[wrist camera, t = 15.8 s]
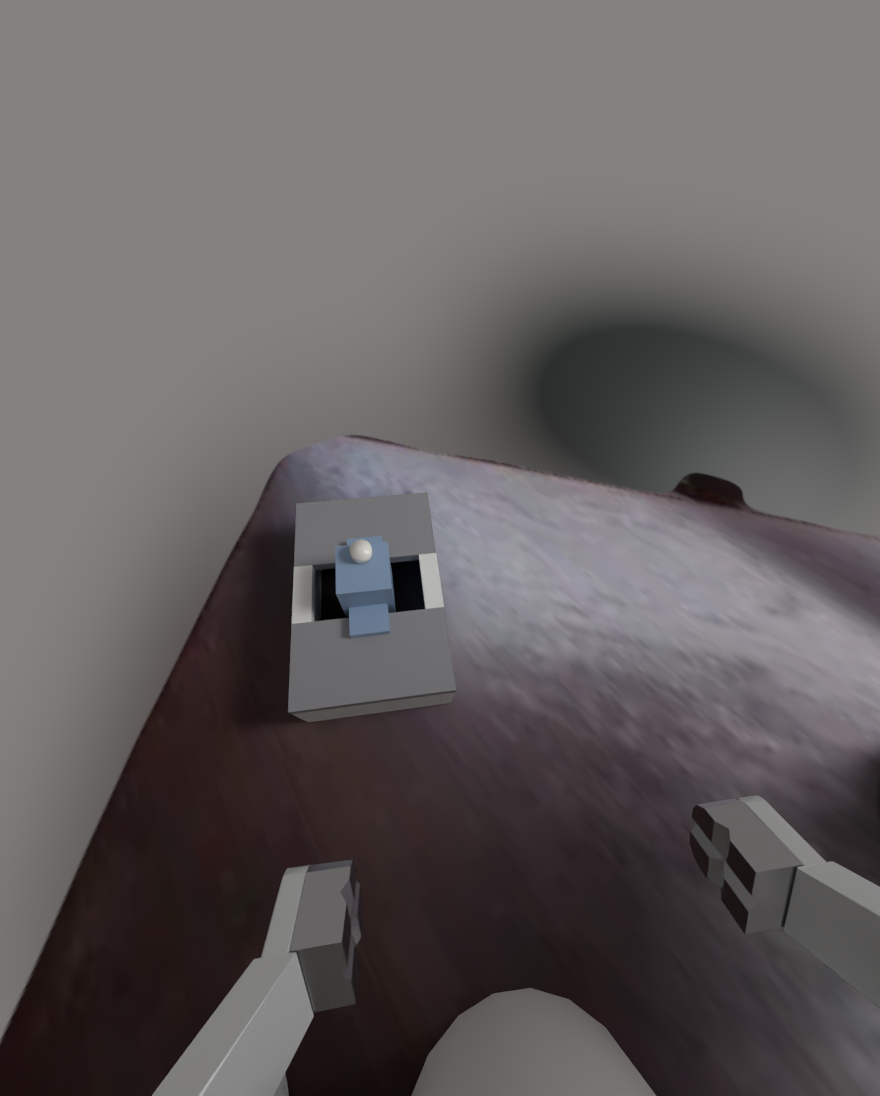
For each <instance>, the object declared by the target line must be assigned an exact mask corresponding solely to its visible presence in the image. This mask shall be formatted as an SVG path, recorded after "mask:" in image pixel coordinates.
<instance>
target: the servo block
mask: <svg viewBox="0 0 880 1096" xmlns="http://www.w3.org/2000/svg"><path fill="white" fill-rule="evenodd" d="M335 561H336V596H337V598H338V600H339V602H340V604H341V606H342V609H343V611H344V613H345V615H346V617H347V618H349V628H350V637H351V638H358V637H366V636H375V635H383V634H390V626H389V613H394V612H396V608H395V597H394V585H393V577H392V570H391V563H390V556H389V548H388V541H387V542H383V539H382V536H375V537H364V538H353V539H347V545H345V546H335Z"/></svg>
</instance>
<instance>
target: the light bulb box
mask: <svg viewBox="0 0 880 1096" xmlns="http://www.w3.org/2000/svg"><path fill="white" fill-rule="evenodd" d="M274 1096H289V1093H288V1085H287V1079H286V1074H284V1076H283V1078H282V1080H281V1082H280V1084H279V1086H278V1088H277V1090H276V1092H275V1094H274Z"/></svg>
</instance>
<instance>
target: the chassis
mask: <svg viewBox="0 0 880 1096" xmlns="http://www.w3.org/2000/svg"><path fill="white" fill-rule="evenodd" d="M375 536H382V539H383V542H387V541H388V548H389V556H390V563H393V562H403V561H413V560H419V566H420V574H421V582H422V590H423V598H424V606H425V609H421V610H412V611H403V612H394V613H389V626H390V634H383V635H375V636H366V637H358V638H351V637H350V628H349V618H341V619H332V620H323V621H321V570H323V569H333V568H336V561H335V546H345V545H347V539H353V538H364V537H375ZM455 692H456V685H455V678H454V671H453V664H452V658H451V651H450V644H449V637H448V631H447V624H446V617H445V610H444V604H443V597H442V590H441V583H440V577H439V570H438V563H437V556H436V550H435V543H434V536H433V529H432V523H431V516H430V509H429V502H428V495H427V493H417V494H405V495H393V496H381V497H369V498H357V499H345V500H333V501H321V502H309V503H297V504H296V529H295V553H294V578H293V602H292V626H291V651H290V675H289V700H288V713H290V714H292V715H294V716H296V717H298V718H300V719H302V720H304V721H306V722H315V721H322V720H329V719H337V718H344V717H351V716H359V715H366V714H373V713H381V712H388V711H395V710H402V709H410V708H417V707H424V706H432V705H439V704H446V703H451V701H452V699H453V697H454V694H455Z"/></svg>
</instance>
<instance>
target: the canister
mask: <svg viewBox="0 0 880 1096" xmlns="http://www.w3.org/2000/svg"><path fill="white" fill-rule="evenodd" d="M411 1096H656V1095H655V1093H654V1092H653V1091H652V1089H651V1088H650V1087H649V1085H648V1084H647V1083H646V1081H645V1080H644V1079H643V1077H642V1076H641V1075H640V1073H639V1072H638V1070H637V1069H636V1068H635V1066H634V1065H633V1064H632V1062H631V1061H630V1060H629V1058H628V1057H627V1056H626V1054H625V1053H624V1052H623V1050H622V1049H621V1048H620V1046H619V1045H618V1044H617V1042H616V1041H615V1040H614V1038H613V1037H612V1035H611V1034H610V1033H609V1031H608V1030H607V1029H606V1027H605V1026H603V1025H602V1024H601V1023H599V1022H598V1021H597V1020H595V1019H594V1018H593V1017H591V1016H590V1015H589V1014H588V1013H586V1012H585V1011H584V1010H582V1009H581V1008H580V1007H578V1006H577V1005H576V1004H575V1003H573V1002H572V1001H571V1000H569V999H567V998H563V997H560V996H557V995H553V994H550V993H547V992H543V991H540V990H536V989H533V988H526V989H519V990H512V991H505V992H498V993H493V994H491V995H490V996H488V997H487V998H485V999H483V1000H482V1001H480V1002H479V1003H477V1004H476V1005H474V1006H472V1007H471V1008H469V1009H468V1010H466V1011H465V1012H463V1013H461V1014H460V1015H458V1017H457V1018H456V1019H455V1020H454V1022H453V1023H452V1024H451V1026H450V1027H449V1028H448V1030H447V1031H446V1032H445V1033H444V1035H443V1036H442V1037H441V1039H440V1040H439V1041H438V1042H437V1044H436V1045H435V1046H434V1048H433V1049H432V1050H431V1051H430V1053H429V1054H428V1056H427V1059H426V1061H425V1064H424V1066H423V1068H422V1071H421V1073H420V1076H419V1078H418V1081H417V1083H416V1085H415V1088H414V1090H413V1093H412V1095H411Z"/></svg>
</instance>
